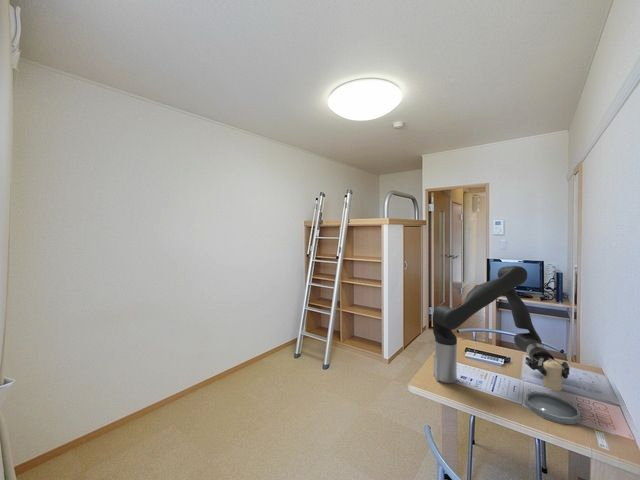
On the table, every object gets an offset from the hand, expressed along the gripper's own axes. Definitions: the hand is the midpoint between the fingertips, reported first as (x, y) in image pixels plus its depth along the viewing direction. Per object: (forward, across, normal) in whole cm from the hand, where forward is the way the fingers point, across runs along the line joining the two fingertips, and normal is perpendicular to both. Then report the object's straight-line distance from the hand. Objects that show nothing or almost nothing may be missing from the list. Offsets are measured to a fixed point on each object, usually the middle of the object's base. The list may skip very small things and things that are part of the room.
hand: (555, 374), depth 105 cm
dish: (-2, 0, +15) cm, 15 cm away
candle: (-3, 0, +6) cm, 7 cm away
